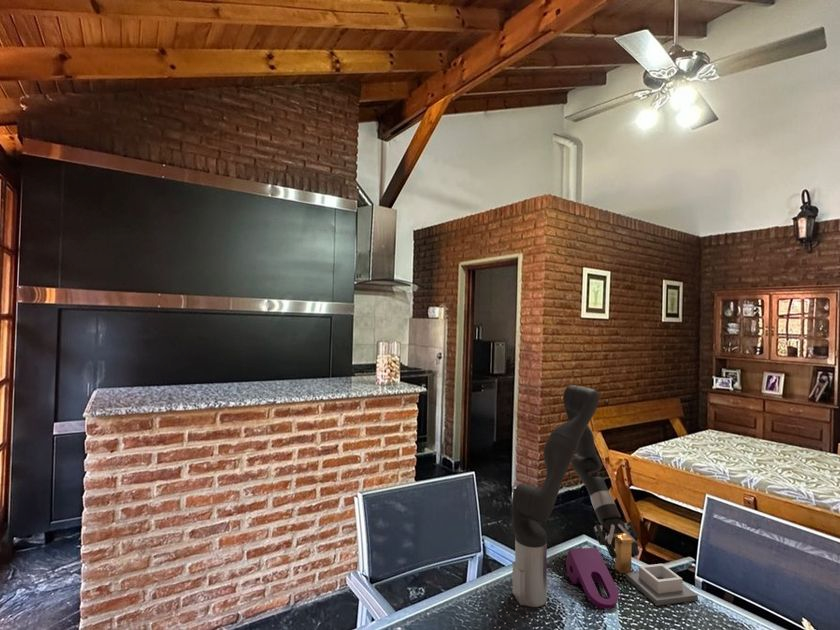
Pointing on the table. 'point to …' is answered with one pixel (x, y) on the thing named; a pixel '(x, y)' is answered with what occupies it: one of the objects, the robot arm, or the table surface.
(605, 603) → the mounting bracket
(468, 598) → the table surface
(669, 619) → the table surface
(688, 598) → the socket plate
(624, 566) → the locking wedge
